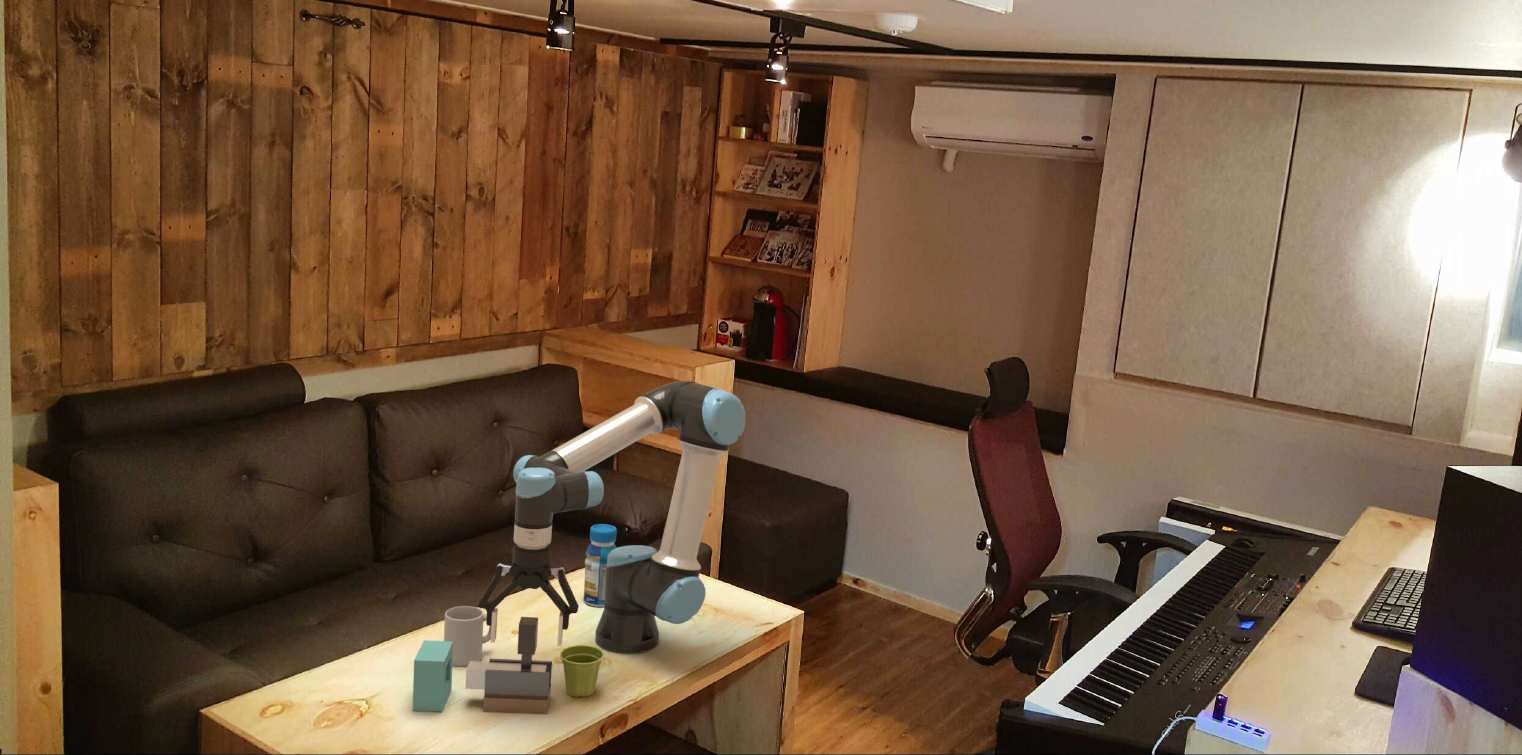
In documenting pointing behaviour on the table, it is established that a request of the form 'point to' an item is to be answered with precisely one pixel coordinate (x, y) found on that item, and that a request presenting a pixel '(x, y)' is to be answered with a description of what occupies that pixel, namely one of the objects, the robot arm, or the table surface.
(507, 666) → the grey sliding latch bolt
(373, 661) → the table surface
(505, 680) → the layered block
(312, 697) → the table surface
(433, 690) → the socket block
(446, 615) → the mug
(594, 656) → the plant pot
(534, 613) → the table surface
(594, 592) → the beverage bottle
